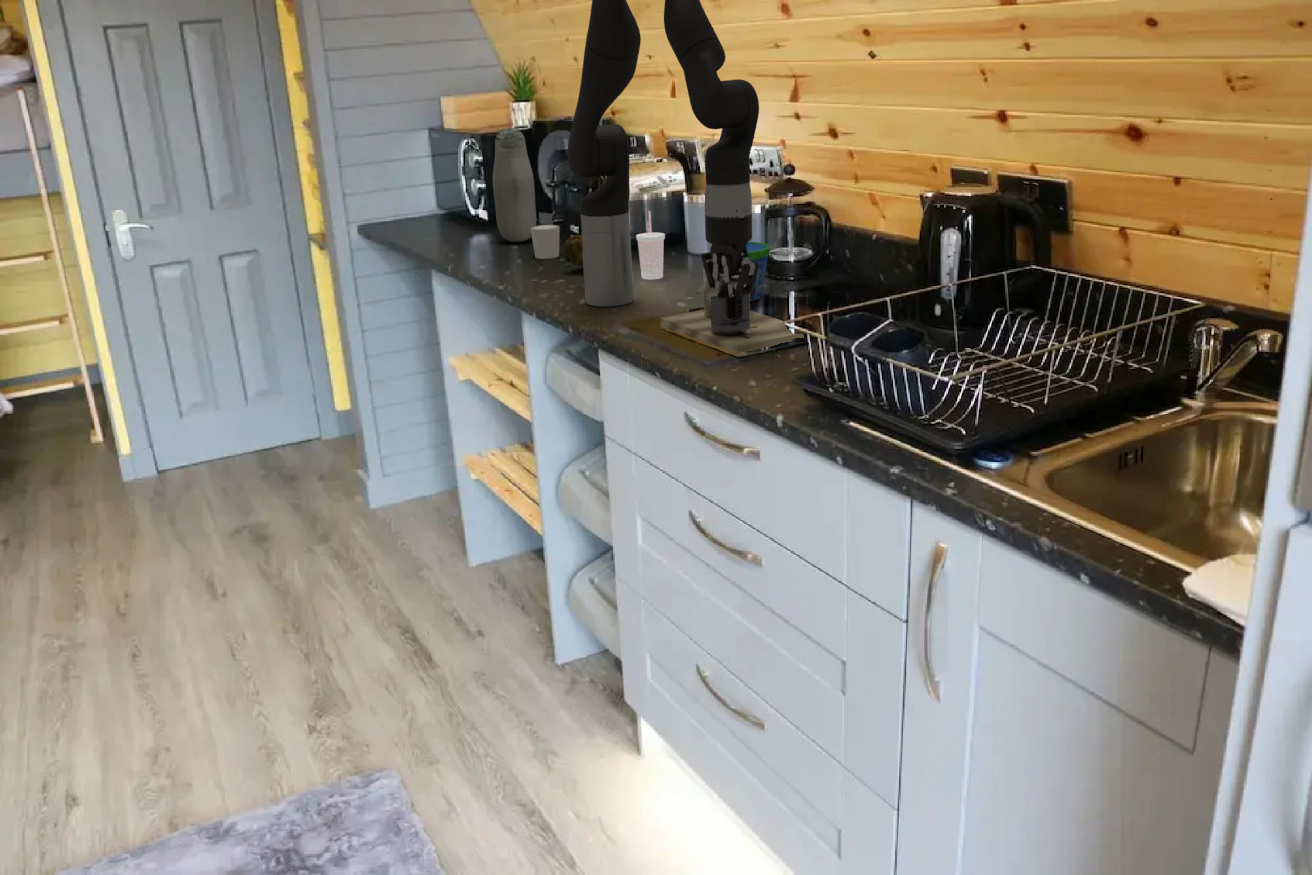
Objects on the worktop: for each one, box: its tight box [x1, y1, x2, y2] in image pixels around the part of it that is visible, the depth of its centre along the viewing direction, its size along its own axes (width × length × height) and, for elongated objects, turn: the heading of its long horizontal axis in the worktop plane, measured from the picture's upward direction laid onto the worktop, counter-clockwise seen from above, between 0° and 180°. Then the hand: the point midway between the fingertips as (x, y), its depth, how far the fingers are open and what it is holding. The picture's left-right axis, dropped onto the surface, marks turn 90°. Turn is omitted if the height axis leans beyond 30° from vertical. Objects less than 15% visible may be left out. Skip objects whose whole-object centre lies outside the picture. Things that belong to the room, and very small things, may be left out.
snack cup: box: [746, 241, 771, 300], centre depth 213 cm, size 16×10×10 cm
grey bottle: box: [492, 127, 537, 243], centre depth 279 cm, size 10×10×28 cm
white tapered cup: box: [530, 224, 560, 260], centre depth 262 cm, size 7×7×7 cm
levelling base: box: [659, 268, 804, 353], centre depth 188 cm, size 24×15×11 cm, turn 31°
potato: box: [562, 234, 583, 268], centre depth 246 cm, size 8×13×8 cm, turn 112°
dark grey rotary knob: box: [711, 294, 751, 335], centre depth 182 cm, size 8×6×6 cm
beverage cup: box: [635, 210, 666, 280], centre depth 234 cm, size 6×6×14 cm
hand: (730, 316), depth 183 cm, fingers closed on dark grey rotary knob, 2 cm apart
